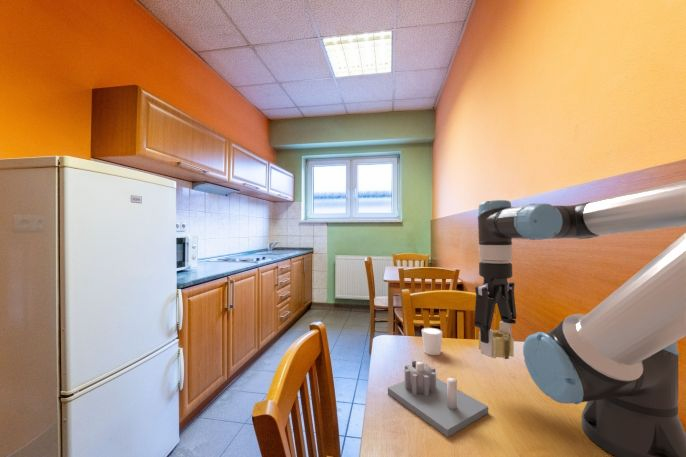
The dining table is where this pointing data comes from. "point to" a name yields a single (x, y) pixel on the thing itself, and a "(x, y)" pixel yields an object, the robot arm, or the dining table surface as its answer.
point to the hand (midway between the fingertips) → (496, 351)
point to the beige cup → (432, 340)
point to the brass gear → (501, 344)
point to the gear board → (436, 399)
